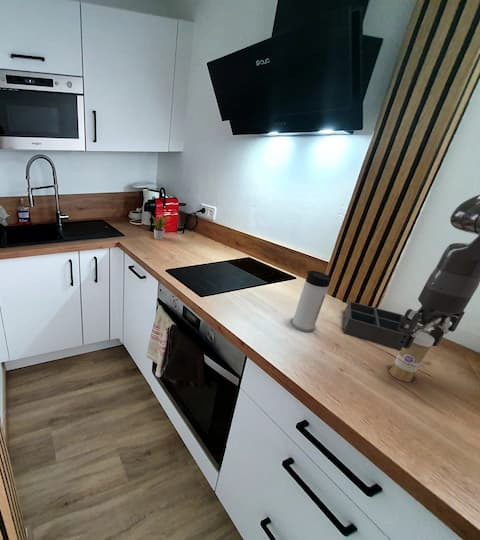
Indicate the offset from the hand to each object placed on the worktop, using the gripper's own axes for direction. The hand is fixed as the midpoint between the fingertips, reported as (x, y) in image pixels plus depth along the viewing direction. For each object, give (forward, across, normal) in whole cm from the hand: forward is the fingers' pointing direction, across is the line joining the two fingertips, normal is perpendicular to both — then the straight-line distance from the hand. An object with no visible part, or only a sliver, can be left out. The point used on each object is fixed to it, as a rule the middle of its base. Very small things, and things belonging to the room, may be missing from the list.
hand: (417, 345), depth 72 cm
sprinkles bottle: (+10, 0, 0) cm, 11 cm away
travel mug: (+10, -10, +24) cm, 28 cm away
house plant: (+11, -30, +124) cm, 128 cm away
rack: (+10, +12, +19) cm, 25 cm away
